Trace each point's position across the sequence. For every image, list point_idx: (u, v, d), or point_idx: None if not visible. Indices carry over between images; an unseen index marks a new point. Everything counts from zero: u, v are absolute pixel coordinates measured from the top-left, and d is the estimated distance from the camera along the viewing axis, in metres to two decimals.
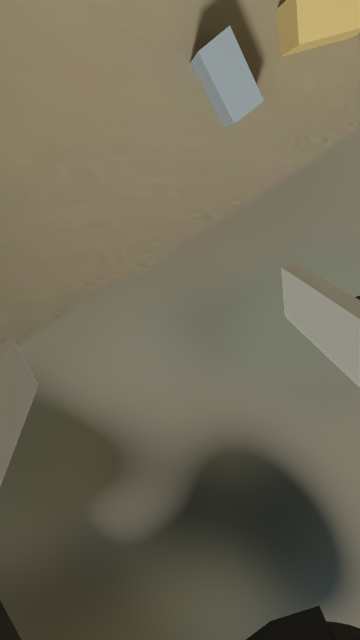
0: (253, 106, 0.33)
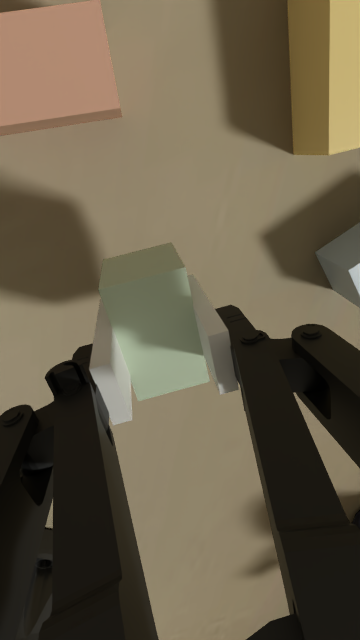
0: None
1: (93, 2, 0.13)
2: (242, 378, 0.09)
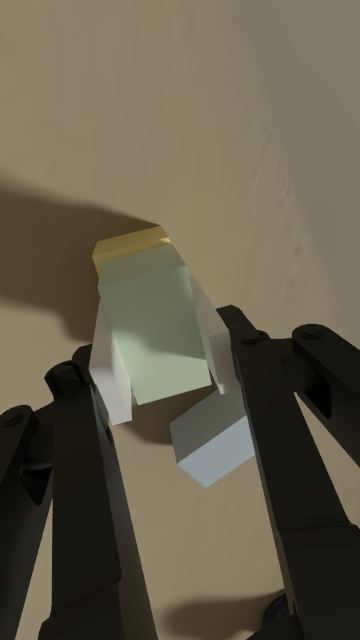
0: None
1: None
2: (242, 378, 0.09)
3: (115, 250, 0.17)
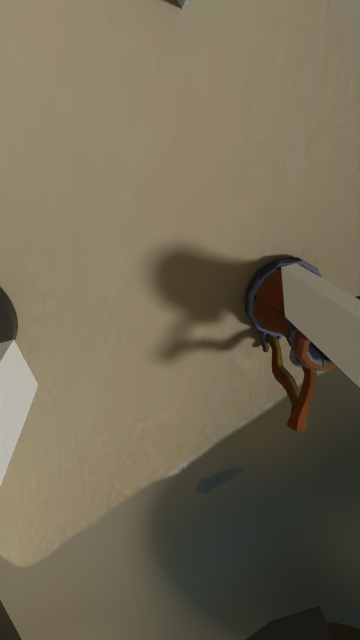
0: None
1: None
2: None
3: None
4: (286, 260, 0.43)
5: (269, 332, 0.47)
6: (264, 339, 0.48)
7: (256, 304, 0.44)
